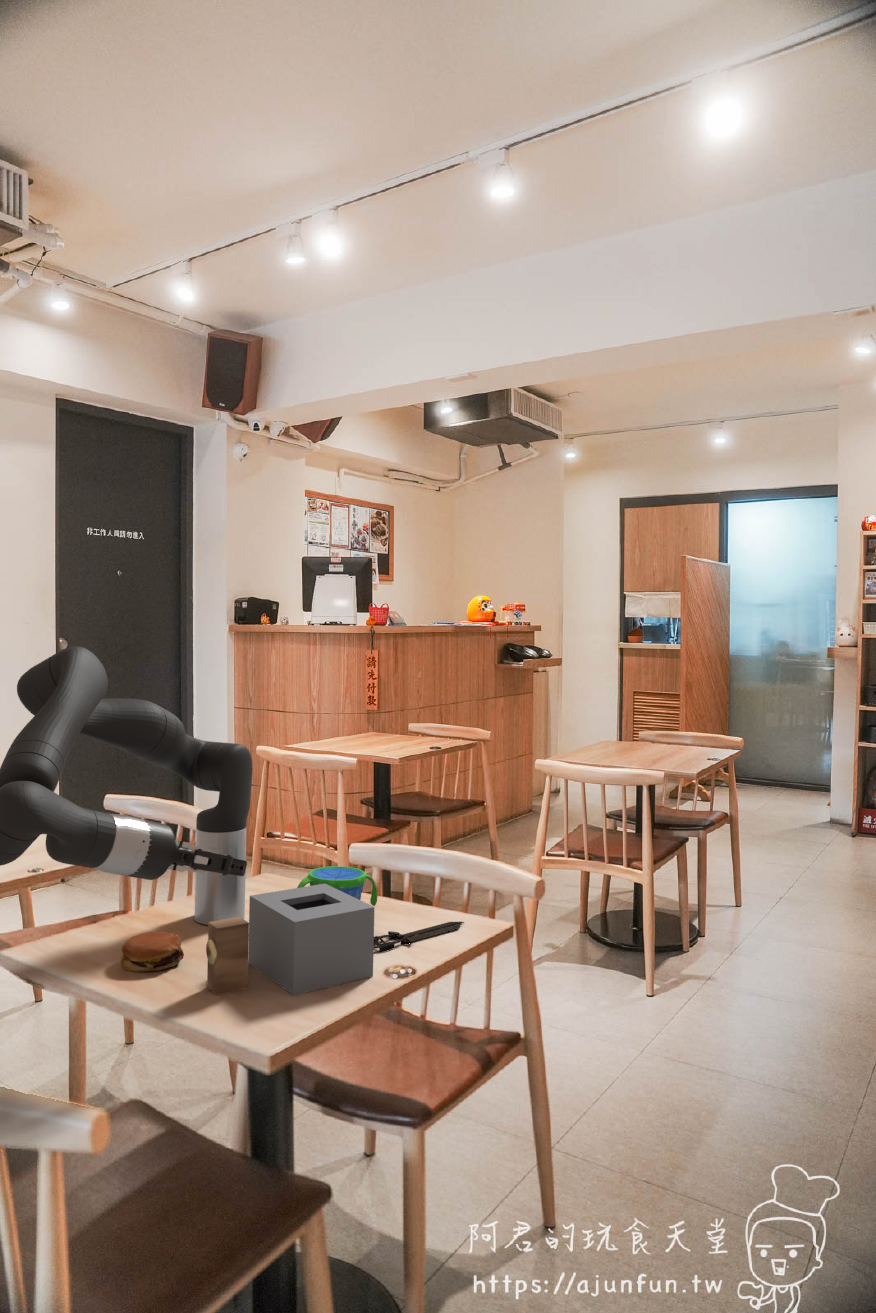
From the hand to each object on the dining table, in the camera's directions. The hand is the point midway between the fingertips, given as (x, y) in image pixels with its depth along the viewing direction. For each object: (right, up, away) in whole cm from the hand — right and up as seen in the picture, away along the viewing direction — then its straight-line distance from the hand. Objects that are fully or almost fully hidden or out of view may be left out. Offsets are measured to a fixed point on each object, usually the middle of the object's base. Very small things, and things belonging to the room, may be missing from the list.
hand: (225, 865), depth 127 cm
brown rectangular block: (-1, -20, +6) cm, 21 cm away
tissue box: (+10, -20, +15) cm, 27 cm away
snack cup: (+12, -20, +36) cm, 43 cm away
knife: (+26, -21, +32) cm, 46 cm away
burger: (-16, -20, +16) cm, 30 cm away
